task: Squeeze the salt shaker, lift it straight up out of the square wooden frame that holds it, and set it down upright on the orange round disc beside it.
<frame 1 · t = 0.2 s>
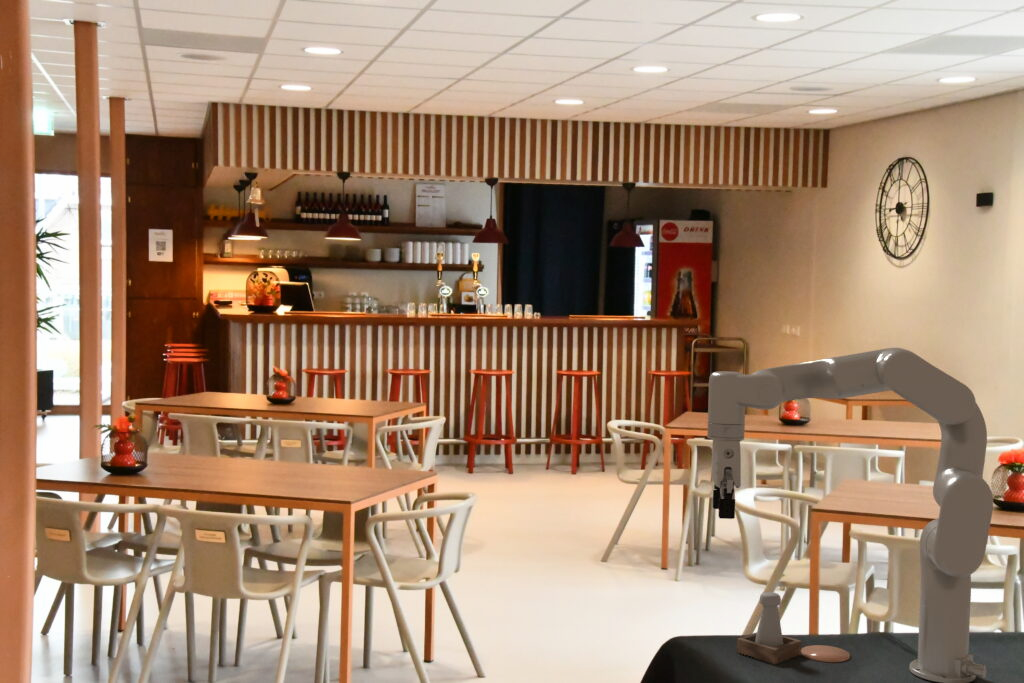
hand: (723, 513, 236), 31 cm above the table, tool pointing down, fingers open, 9 cm apart
square wooden frame: (768, 653, 241), on the table
orange round disc: (825, 654, 241), on the table
salt shaker: (768, 654, 241), resting in square wooden frame
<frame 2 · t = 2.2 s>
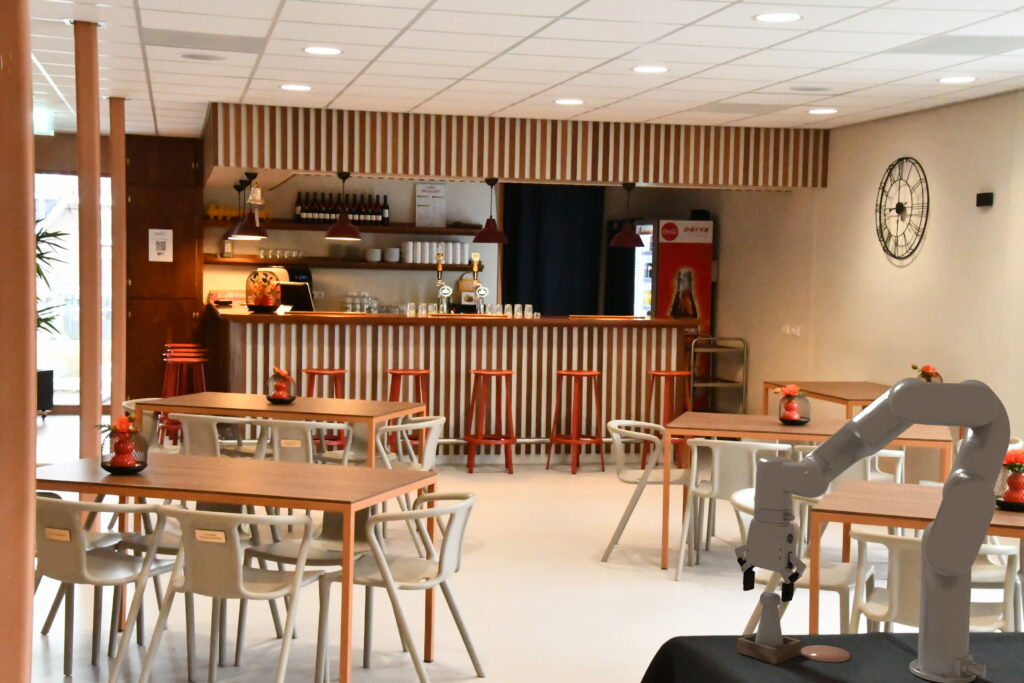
hand: (767, 595, 241), 12 cm above the table, tool pointing down, fingers open, 9 cm apart
nothing on the table moved.
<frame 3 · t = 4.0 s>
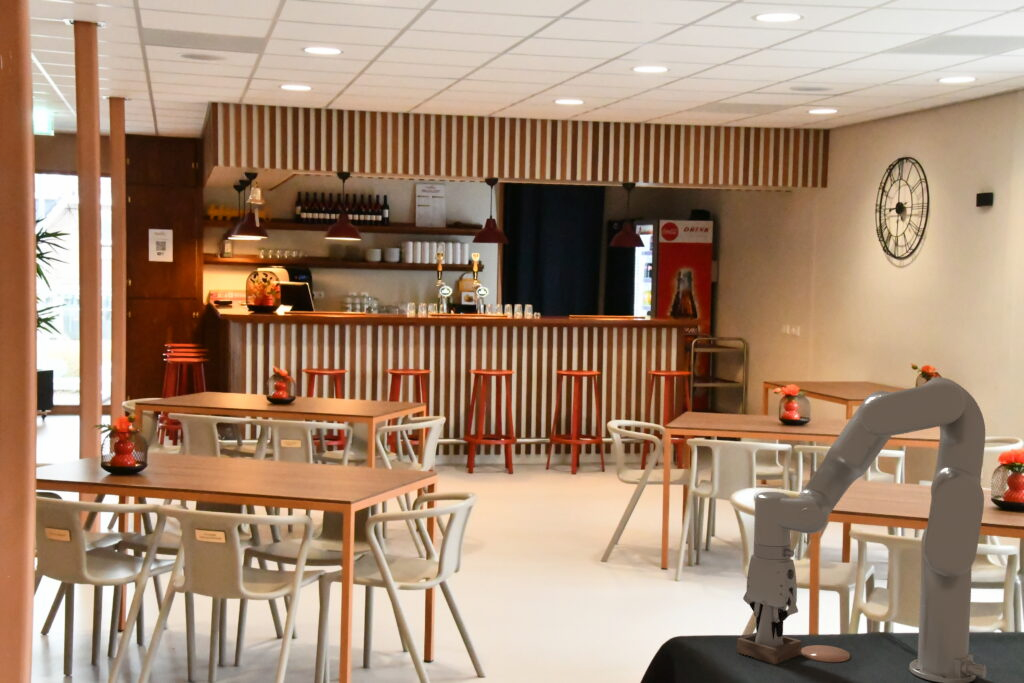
hand: (769, 636, 241), 4 cm above the table, tool pointing down, fingers closed on salt shaker, 3 cm apart
salt shaker: (768, 654, 241), resting in square wooden frame, touching gripper
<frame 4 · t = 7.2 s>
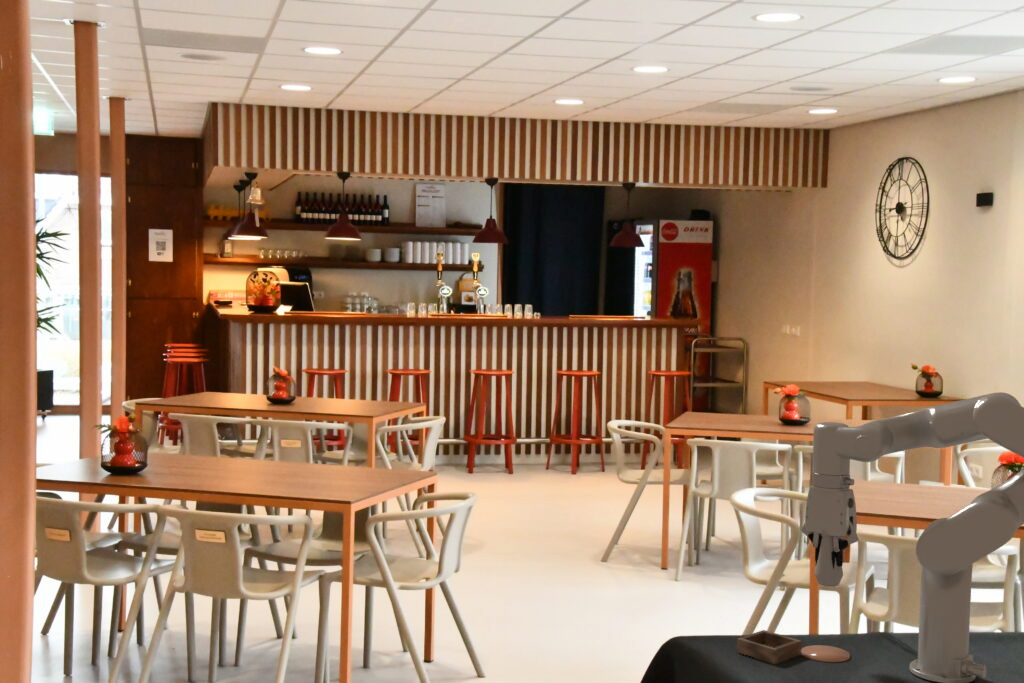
hand: (828, 566, 240), 19 cm above the table, tool pointing down, fingers closed on salt shaker, 3 cm apart
salt shaker: (828, 585, 241), point 15 cm above the table, touching gripper
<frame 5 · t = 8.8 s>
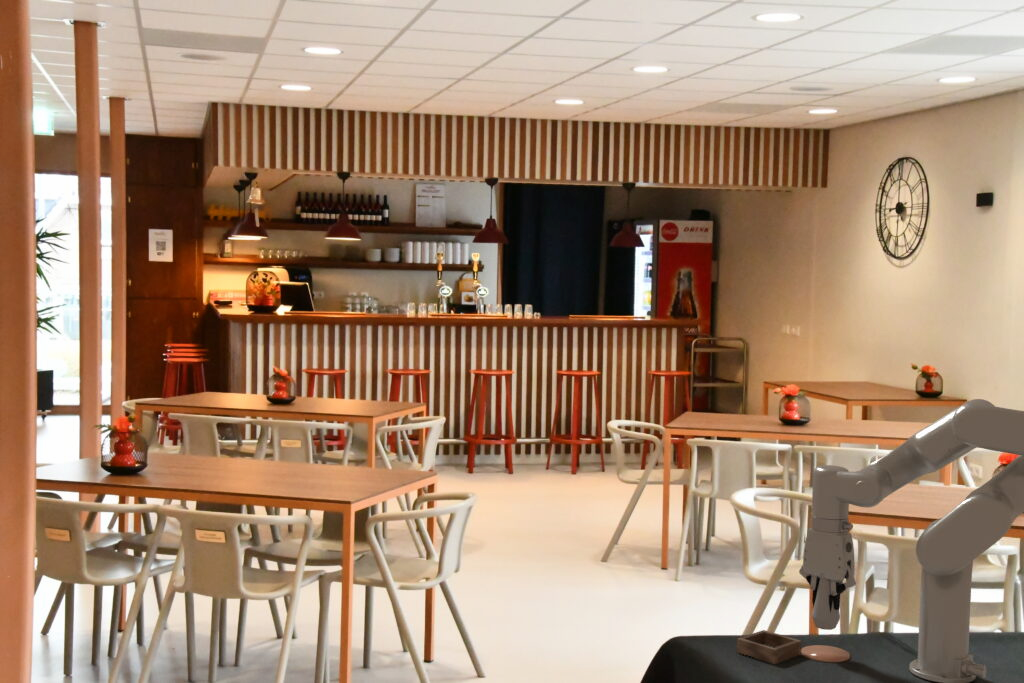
hand: (825, 609, 241), 10 cm above the table, tool pointing down, fingers closed on salt shaker, 3 cm apart
salt shaker: (825, 627, 241), point 6 cm above the table, touching gripper
when the fingers open (5 cm above the table, at t = 10.3 s): salt shaker drops 1 cm, resting on orange round disc.
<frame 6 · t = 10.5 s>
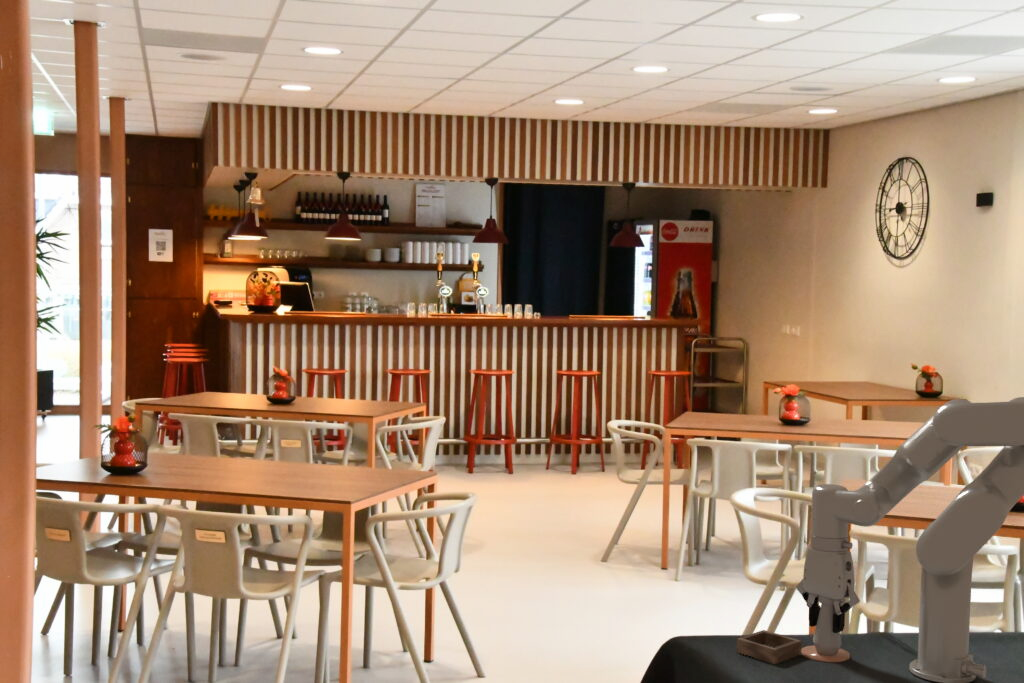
hand: (826, 627, 241), 6 cm above the table, tool pointing down, fingers open, 4 cm apart
salt shaker: (826, 653, 241), resting on orange round disc
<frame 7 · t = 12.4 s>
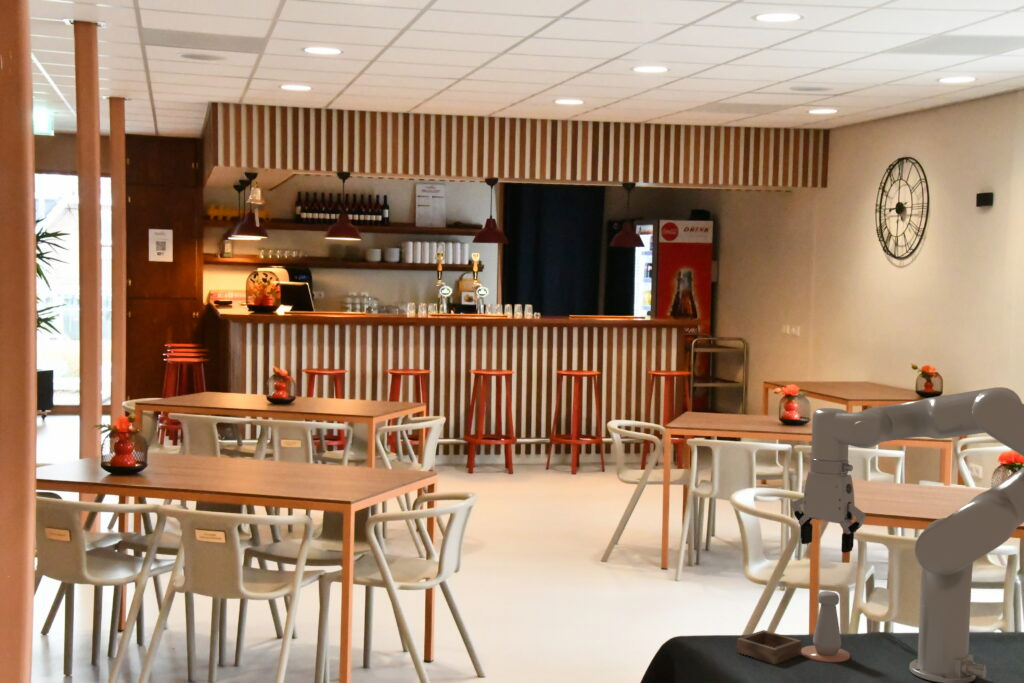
hand: (826, 547, 241), 23 cm above the table, tool pointing down, fingers open, 9 cm apart
nothing on the table moved.
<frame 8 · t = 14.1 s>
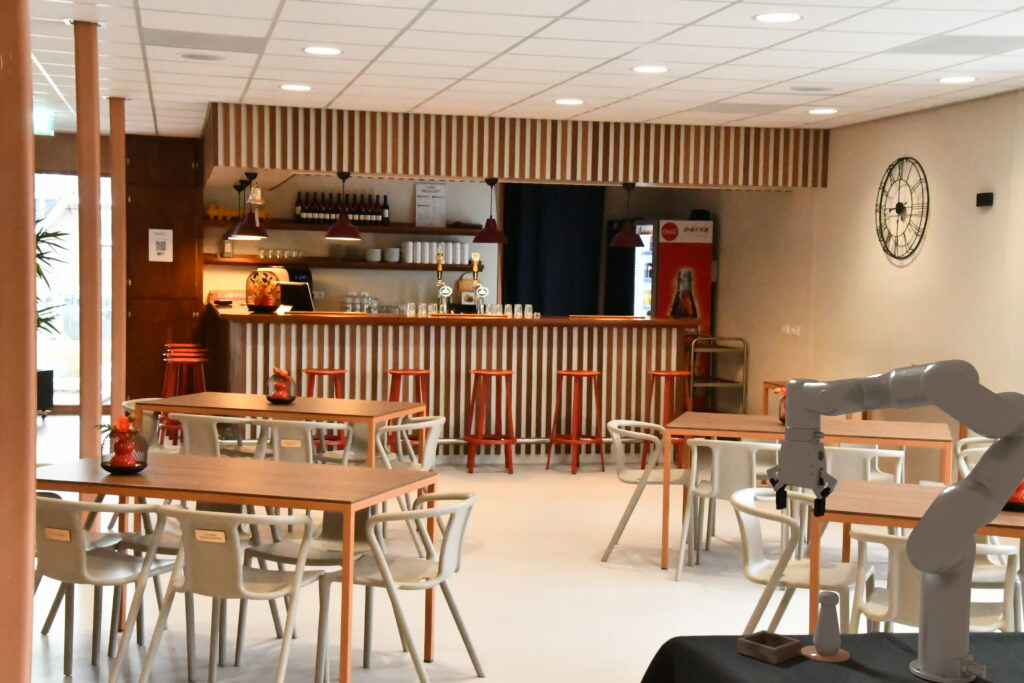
hand: (799, 512, 250), 28 cm above the table, tool pointing down, fingers open, 9 cm apart
nothing on the table moved.
at the end: salt shaker 0.3 cm off-centre on the orange round disc, point 0.2 cm above the orange round disc's base; salt shaker tilted 0°; the gripper is holding nothing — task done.
